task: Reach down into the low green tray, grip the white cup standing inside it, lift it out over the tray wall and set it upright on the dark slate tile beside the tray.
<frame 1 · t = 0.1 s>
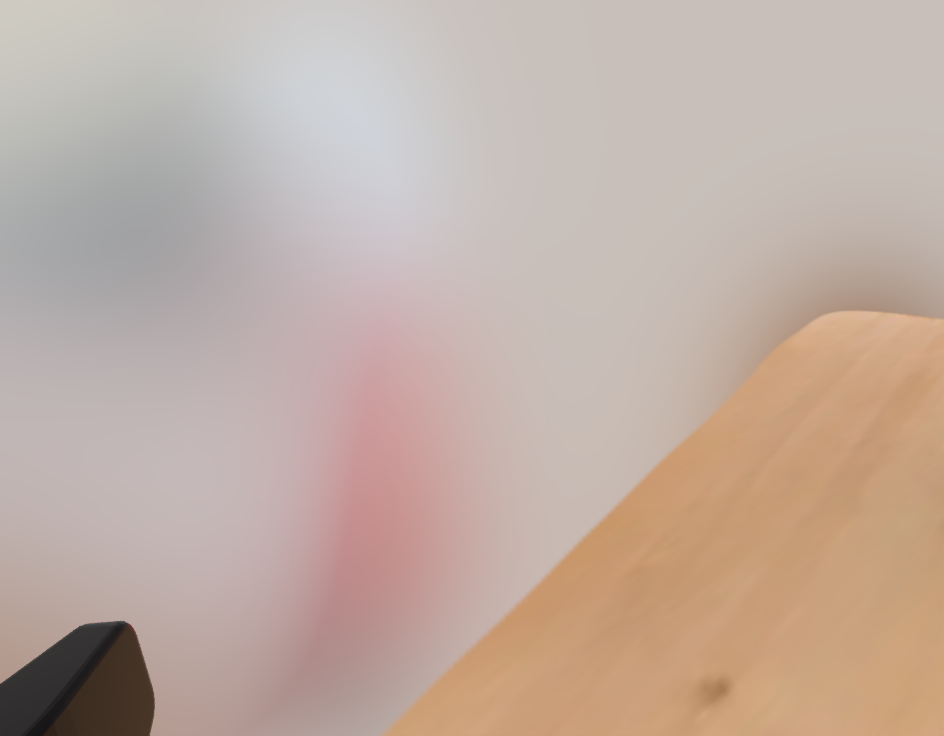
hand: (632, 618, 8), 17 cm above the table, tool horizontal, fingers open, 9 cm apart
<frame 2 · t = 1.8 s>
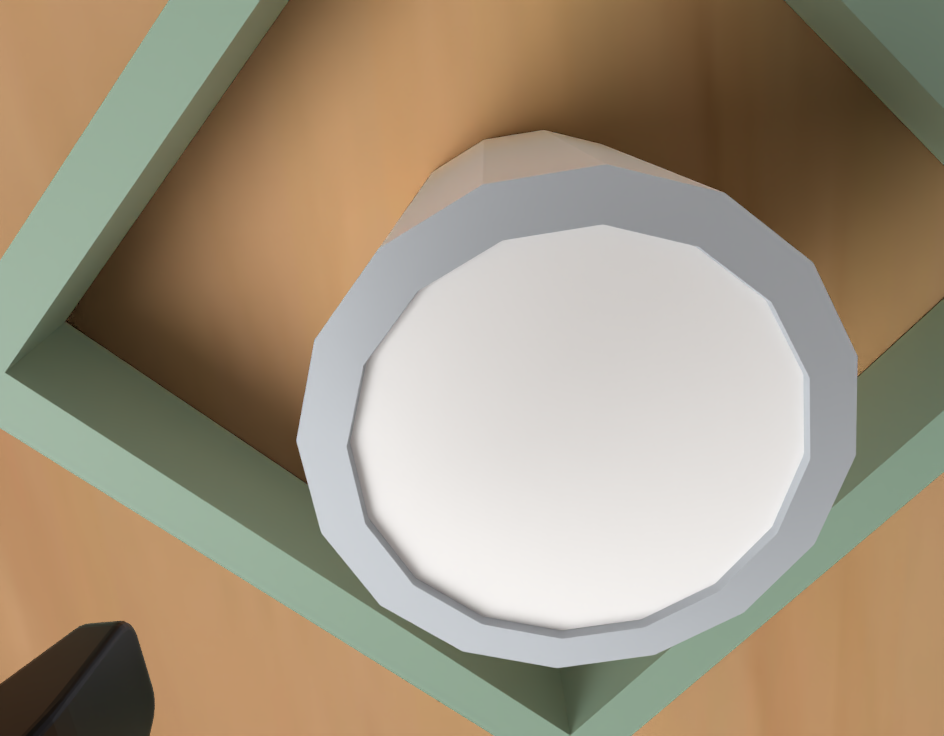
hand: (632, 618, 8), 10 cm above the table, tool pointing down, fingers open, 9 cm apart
white cup: (532, 275, 17), resting in green tray
green tray: (533, 279, 17), on the table
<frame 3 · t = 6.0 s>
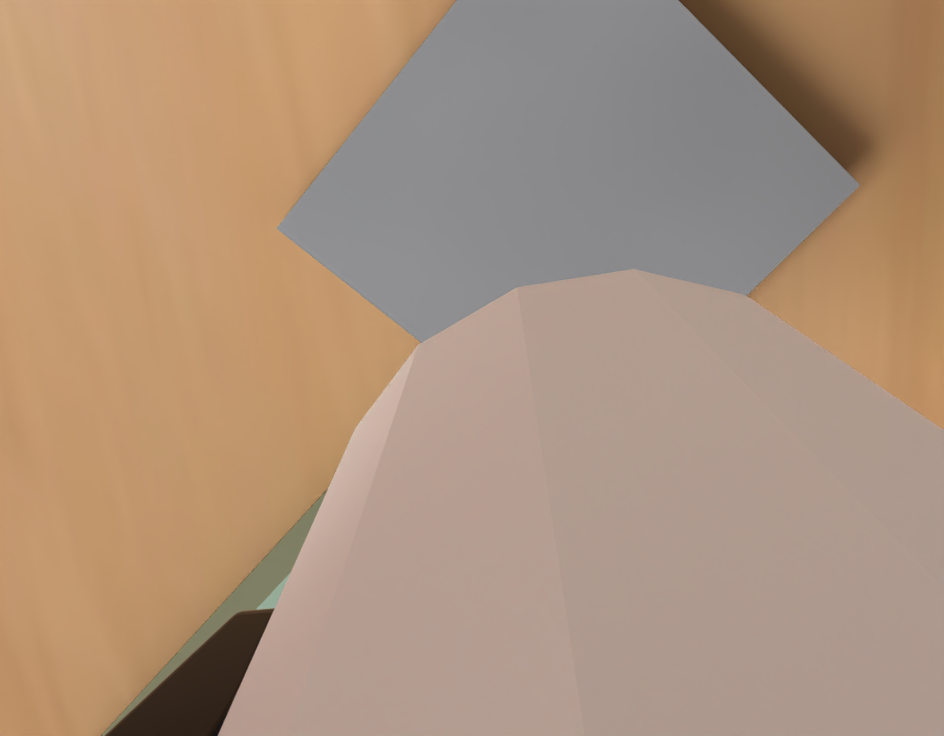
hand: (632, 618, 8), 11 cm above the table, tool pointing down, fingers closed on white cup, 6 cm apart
white cup: (601, 515, 9), point 10 cm above the table, touching gripper
slate tile: (562, 198, 18), on the table
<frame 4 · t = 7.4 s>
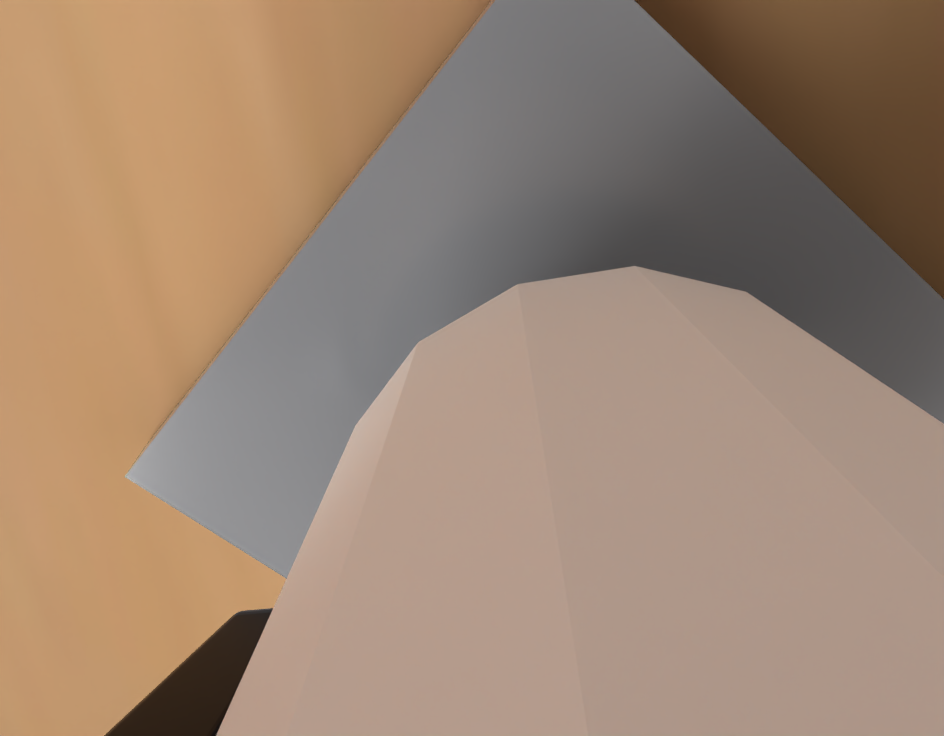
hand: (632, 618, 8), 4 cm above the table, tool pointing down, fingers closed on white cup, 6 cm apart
white cup: (601, 513, 9), point 2 cm above the table, touching gripper
slate tile: (571, 408, 12), on the table
when the fingers open (3 cm above the table, at t = 8.4 s): white cup drops 1 cm, resting on slate tile.
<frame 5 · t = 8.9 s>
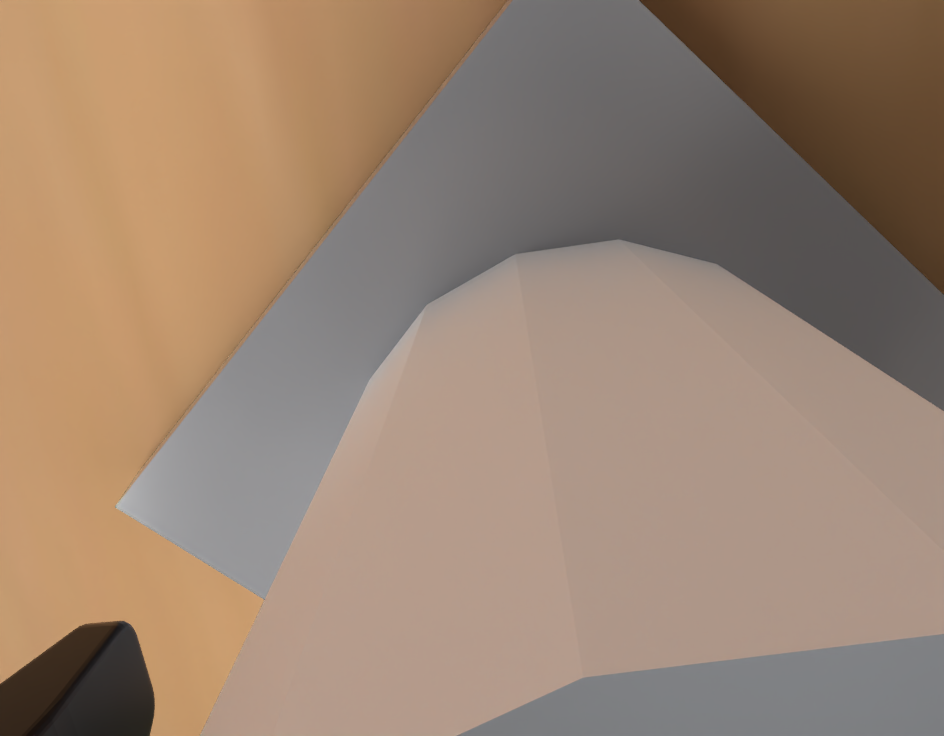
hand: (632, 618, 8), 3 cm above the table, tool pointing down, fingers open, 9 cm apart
white cup: (587, 464, 11), point 1 cm above the table, touching slate tile
slate tile: (581, 434, 11), on the table
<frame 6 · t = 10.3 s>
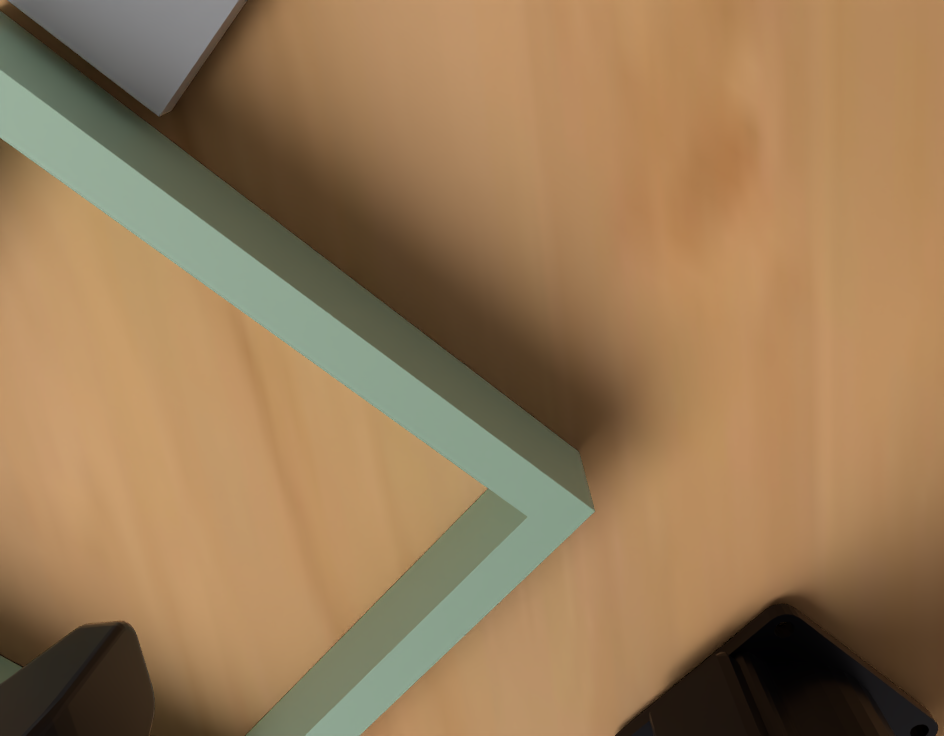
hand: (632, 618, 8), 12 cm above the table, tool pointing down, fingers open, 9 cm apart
green tray: (132, 489, 21), on the table
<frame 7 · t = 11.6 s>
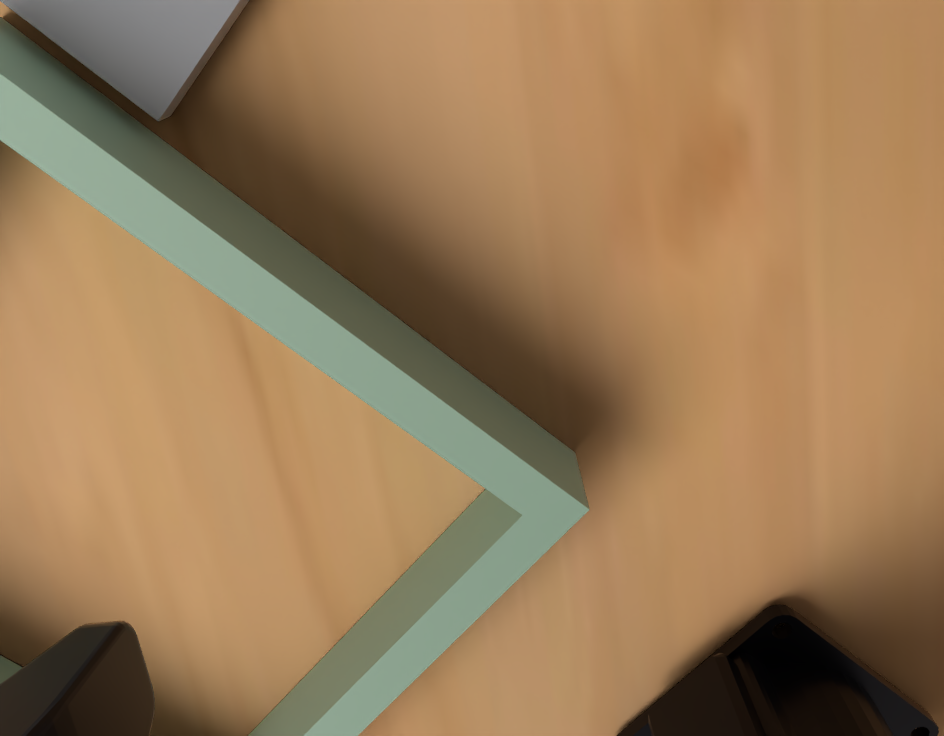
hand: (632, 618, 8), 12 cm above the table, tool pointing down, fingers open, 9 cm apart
green tray: (133, 490, 21), on the table
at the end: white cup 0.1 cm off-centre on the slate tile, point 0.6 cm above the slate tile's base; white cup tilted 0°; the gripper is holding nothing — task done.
